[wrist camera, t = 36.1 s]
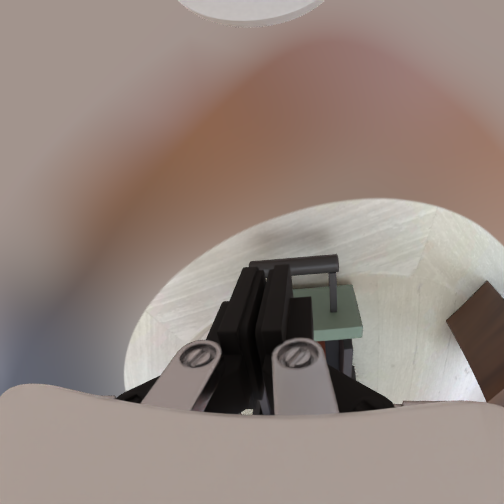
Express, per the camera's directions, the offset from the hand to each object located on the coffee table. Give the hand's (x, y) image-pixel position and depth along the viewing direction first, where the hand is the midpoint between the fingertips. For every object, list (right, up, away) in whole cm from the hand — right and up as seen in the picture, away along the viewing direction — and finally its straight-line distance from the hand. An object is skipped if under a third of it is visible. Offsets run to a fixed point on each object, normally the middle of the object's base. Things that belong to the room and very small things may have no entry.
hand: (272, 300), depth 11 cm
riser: (+27, -6, +17) cm, 32 cm away
